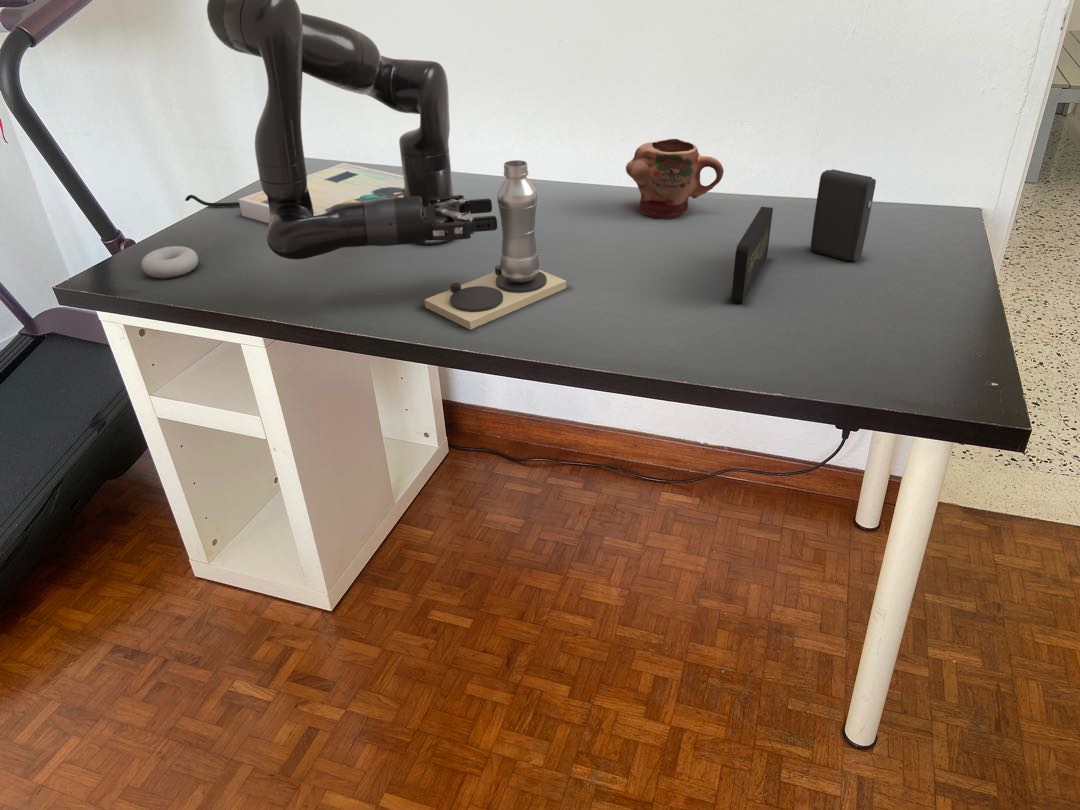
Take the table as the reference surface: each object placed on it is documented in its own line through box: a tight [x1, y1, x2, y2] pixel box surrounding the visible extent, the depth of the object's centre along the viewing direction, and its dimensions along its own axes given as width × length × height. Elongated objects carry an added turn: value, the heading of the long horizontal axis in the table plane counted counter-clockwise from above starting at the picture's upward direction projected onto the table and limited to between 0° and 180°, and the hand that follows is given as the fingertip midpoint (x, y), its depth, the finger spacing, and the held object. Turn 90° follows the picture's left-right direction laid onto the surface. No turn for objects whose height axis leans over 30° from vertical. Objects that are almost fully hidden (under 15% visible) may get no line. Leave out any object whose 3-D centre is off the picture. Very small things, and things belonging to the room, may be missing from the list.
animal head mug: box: [625, 138, 725, 219], centre depth 173 cm, size 20×12×14 cm, turn 77°
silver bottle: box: [496, 159, 540, 282], centre depth 140 cm, size 6×7×20 cm
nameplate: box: [730, 206, 774, 304], centre depth 144 cm, size 21×2×10 cm, turn 156°
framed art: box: [238, 162, 405, 224], centre depth 184 cm, size 30×4×30 cm
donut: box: [141, 245, 199, 279], centre depth 157 cm, size 10×4×10 cm
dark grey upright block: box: [810, 168, 877, 262], centre depth 151 cm, size 9×4×15 cm, turn 47°
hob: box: [424, 264, 567, 331], centre depth 143 cm, size 12×22×3 cm, turn 134°
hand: (494, 213), depth 138 cm, fingers open, 8 cm apart
